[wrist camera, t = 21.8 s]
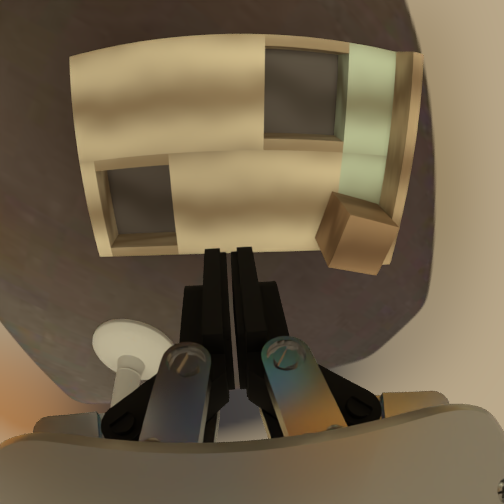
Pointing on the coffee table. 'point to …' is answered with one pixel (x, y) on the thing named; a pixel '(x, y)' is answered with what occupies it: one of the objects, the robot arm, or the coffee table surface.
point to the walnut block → (355, 234)
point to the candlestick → (129, 352)
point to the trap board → (239, 139)
